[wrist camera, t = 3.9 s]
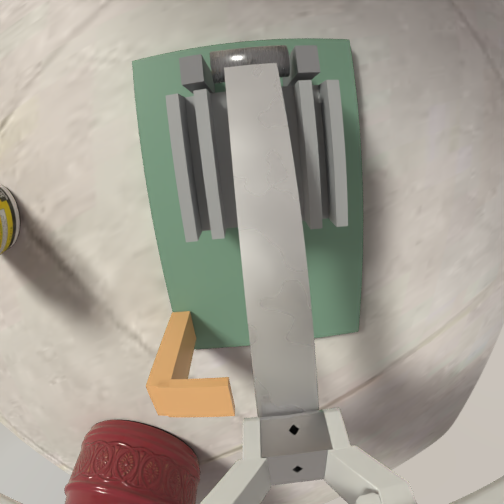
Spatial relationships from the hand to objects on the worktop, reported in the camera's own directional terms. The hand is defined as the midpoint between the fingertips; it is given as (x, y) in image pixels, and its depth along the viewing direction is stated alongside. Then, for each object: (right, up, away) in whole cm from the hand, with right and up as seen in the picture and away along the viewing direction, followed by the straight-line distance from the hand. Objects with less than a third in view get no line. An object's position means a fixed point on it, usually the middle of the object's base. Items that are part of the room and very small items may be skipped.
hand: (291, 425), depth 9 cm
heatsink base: (-1, +8, +10) cm, 13 cm away
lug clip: (-4, +1, +12) cm, 12 cm away
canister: (-13, -16, +19) cm, 28 cm away
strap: (-1, +6, +2) cm, 6 cm away
